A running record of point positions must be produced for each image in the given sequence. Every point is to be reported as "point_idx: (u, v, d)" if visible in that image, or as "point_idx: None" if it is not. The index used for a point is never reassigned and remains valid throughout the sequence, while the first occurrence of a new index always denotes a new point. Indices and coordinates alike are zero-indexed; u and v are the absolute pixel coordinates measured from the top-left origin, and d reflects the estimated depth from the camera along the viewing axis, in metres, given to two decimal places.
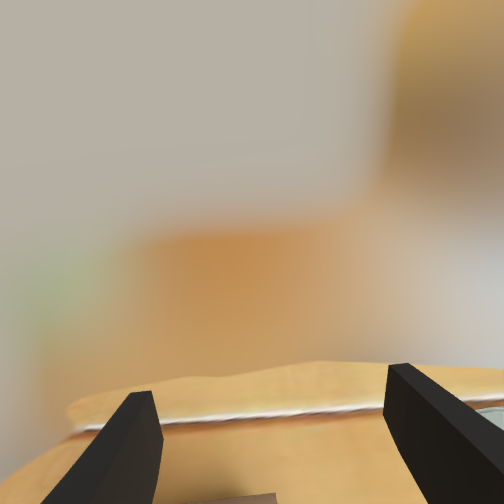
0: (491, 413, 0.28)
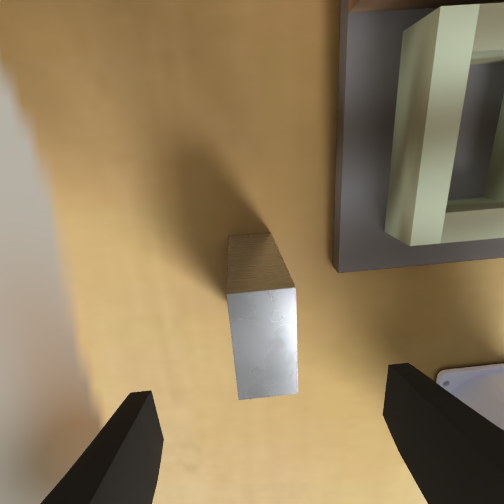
0: None
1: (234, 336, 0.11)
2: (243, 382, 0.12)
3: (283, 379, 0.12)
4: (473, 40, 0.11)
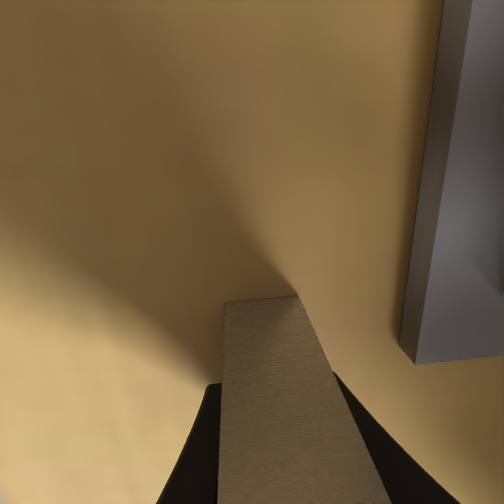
0: None
1: None
2: None
3: None
4: None
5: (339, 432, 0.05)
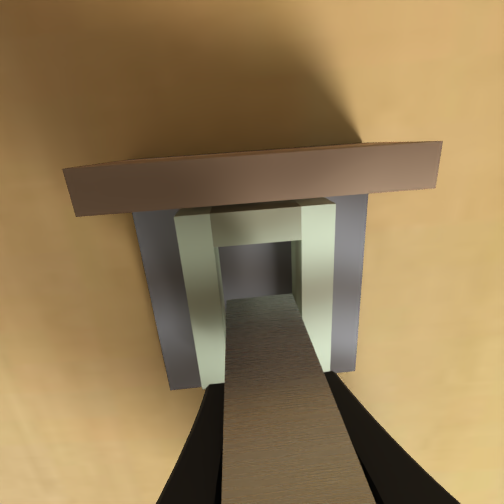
0: None
1: None
2: None
3: None
4: (212, 239, 0.13)
5: (320, 405, 0.06)
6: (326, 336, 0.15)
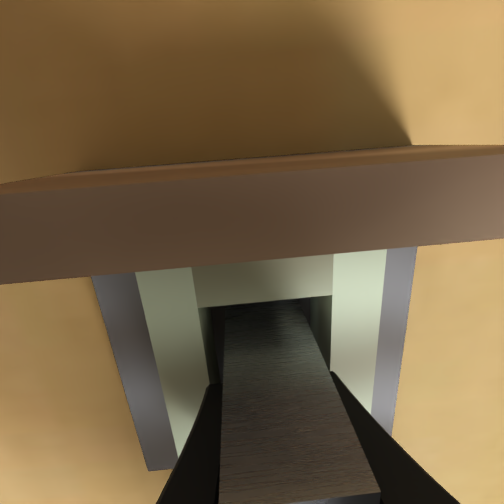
0: None
1: None
2: None
3: None
4: (195, 297, 0.08)
5: (319, 387, 0.06)
6: None
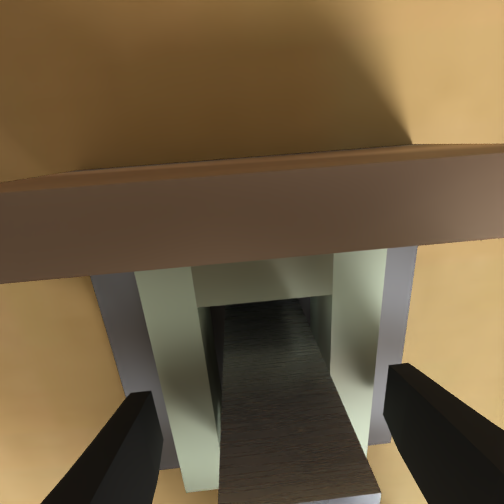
0: None
1: None
2: None
3: None
4: (194, 296, 0.08)
5: (319, 387, 0.06)
6: (363, 422, 0.10)
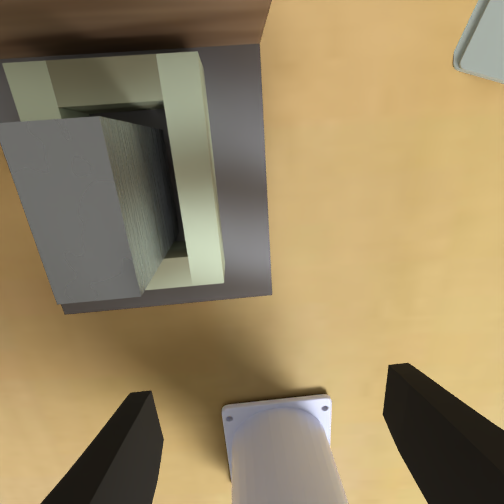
0: None
1: (24, 198, 0.08)
2: (57, 276, 0.08)
3: (115, 273, 0.08)
4: (54, 96, 0.11)
5: None
6: (212, 231, 0.13)
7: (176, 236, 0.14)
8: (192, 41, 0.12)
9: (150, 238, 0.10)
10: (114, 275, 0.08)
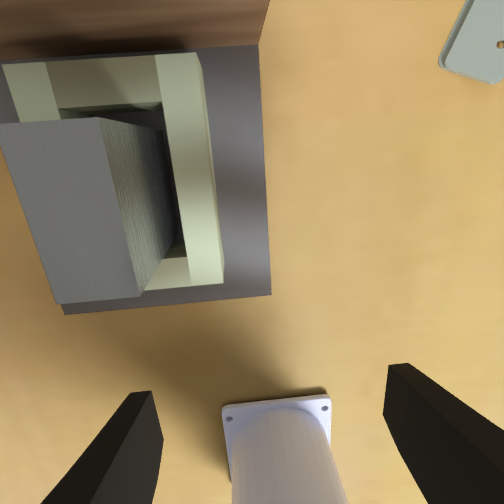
0: None
1: (23, 198, 0.08)
2: (56, 276, 0.08)
3: (114, 273, 0.09)
4: (54, 97, 0.11)
5: None
6: (211, 231, 0.13)
7: (175, 236, 0.15)
8: (190, 42, 0.12)
9: (149, 239, 0.10)
10: (113, 275, 0.09)
